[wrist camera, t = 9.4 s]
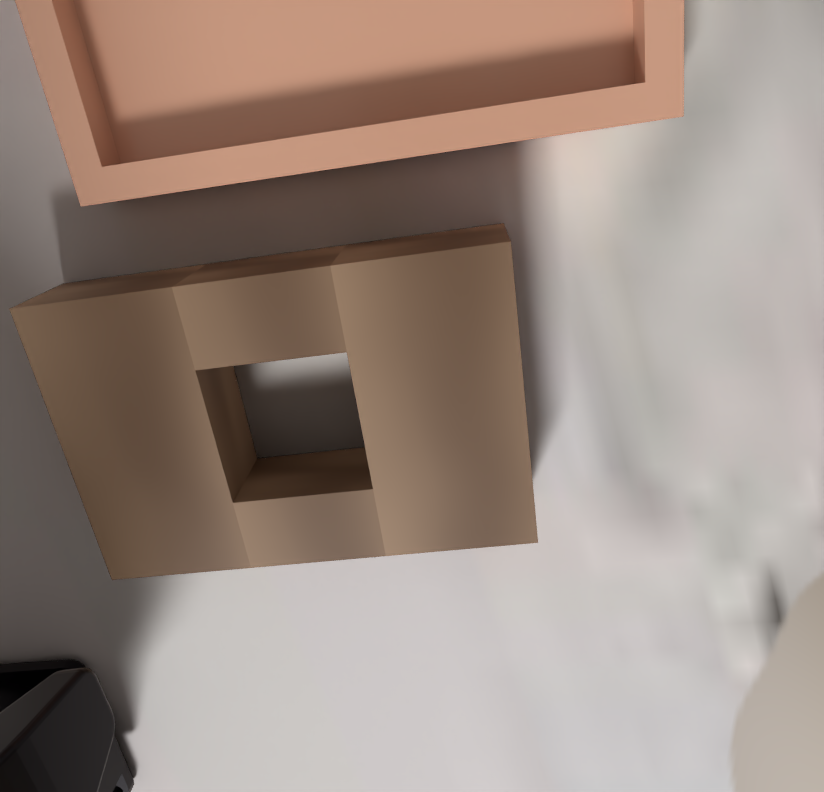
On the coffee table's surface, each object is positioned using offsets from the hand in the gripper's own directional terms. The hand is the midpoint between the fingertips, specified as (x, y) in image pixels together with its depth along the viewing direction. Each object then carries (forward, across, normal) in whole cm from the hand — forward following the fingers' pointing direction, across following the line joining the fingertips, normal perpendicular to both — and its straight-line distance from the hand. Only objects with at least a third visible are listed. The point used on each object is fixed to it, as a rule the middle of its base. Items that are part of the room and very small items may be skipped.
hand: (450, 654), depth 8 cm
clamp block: (+12, +4, +1) cm, 12 cm away
